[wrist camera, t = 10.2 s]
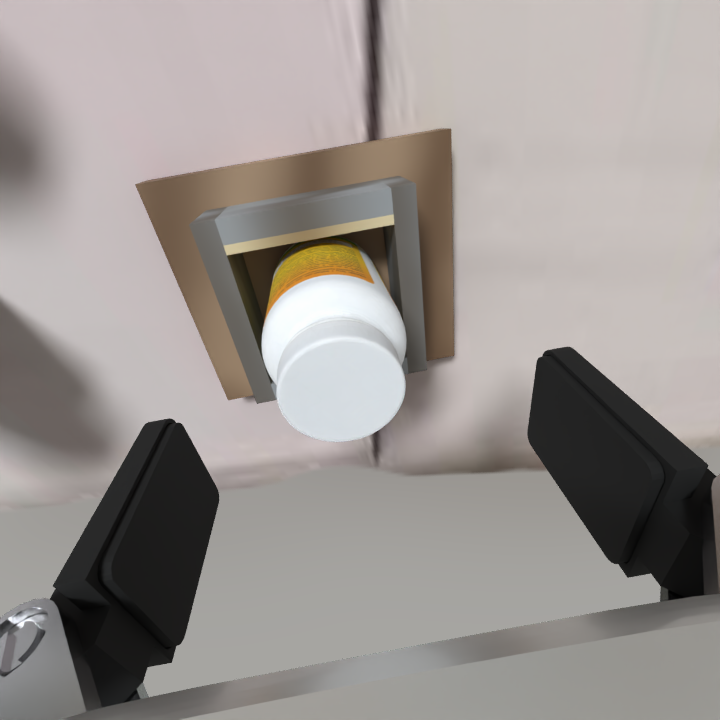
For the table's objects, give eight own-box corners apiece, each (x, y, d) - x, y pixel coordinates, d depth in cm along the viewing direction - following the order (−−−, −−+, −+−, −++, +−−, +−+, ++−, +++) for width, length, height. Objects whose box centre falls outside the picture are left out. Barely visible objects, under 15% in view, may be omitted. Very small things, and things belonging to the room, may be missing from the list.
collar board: (440, 128, 18) (478, 128, 14) (446, 343, 24) (473, 383, 20) (147, 180, 17) (104, 194, 14) (232, 385, 24) (218, 434, 20)
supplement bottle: (251, 288, 19) (211, 405, 11) (321, 207, 18) (338, 273, 9) (329, 348, 22) (344, 481, 13) (397, 281, 20) (463, 386, 12)
